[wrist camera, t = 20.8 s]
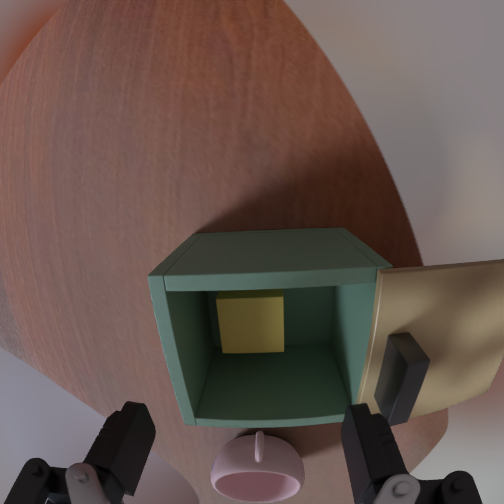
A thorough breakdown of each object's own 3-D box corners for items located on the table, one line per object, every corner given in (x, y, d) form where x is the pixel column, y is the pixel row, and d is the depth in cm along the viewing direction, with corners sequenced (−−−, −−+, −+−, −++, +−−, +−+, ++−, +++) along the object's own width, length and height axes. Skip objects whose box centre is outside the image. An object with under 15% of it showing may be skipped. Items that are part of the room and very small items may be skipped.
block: (224, 275, 21) (215, 298, 17) (280, 273, 20) (283, 296, 16) (229, 323, 22) (222, 353, 18) (281, 321, 21) (284, 352, 18)
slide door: (376, 268, 11) (406, 297, 8) (525, 256, 11) (557, 272, 8) (349, 424, 14) (359, 461, 11) (483, 387, 13) (502, 412, 11)
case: (192, 233, 21) (146, 275, 12) (343, 227, 20) (393, 265, 12) (207, 348, 23) (184, 424, 15) (336, 343, 23) (363, 418, 14)
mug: (296, 467, 28) (298, 503, 23) (219, 465, 29) (213, 501, 23) (309, 411, 25) (316, 456, 19) (211, 409, 26) (201, 454, 20)
